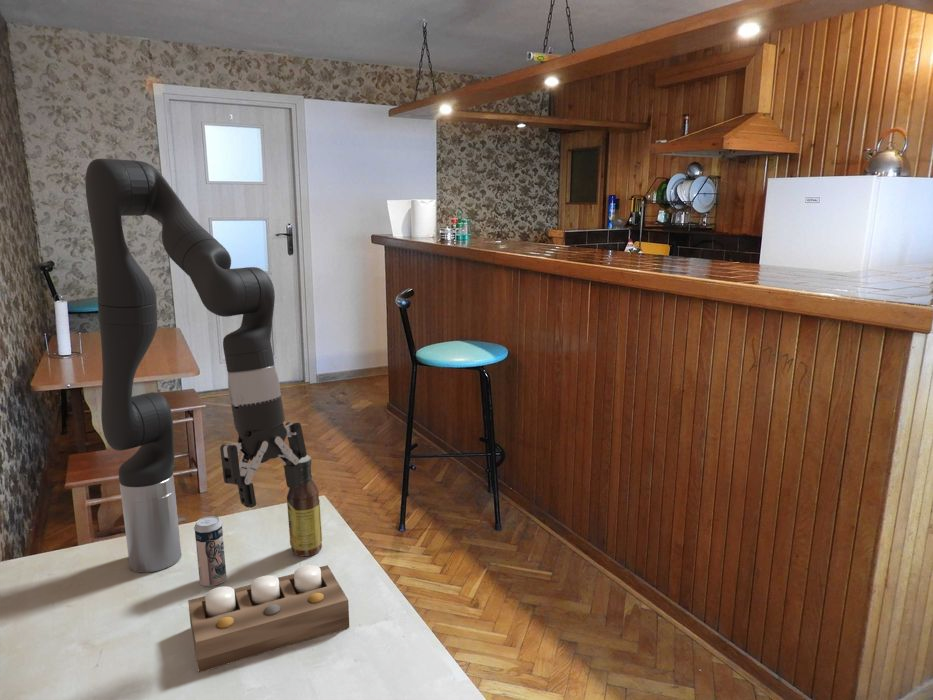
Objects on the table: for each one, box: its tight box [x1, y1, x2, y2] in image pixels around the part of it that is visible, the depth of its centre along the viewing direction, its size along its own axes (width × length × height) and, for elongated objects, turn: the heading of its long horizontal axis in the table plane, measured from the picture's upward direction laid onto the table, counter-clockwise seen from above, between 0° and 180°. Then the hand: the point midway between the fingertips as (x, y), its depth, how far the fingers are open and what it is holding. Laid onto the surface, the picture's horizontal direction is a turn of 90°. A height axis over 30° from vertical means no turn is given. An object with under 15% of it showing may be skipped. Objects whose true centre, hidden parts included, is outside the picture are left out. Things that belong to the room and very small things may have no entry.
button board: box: [187, 564, 350, 673], centre depth 106 cm, size 12×23×5 cm, turn 118°
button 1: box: [204, 586, 236, 618], centre depth 104 cm, size 4×4×3 cm
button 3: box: [293, 564, 322, 594], centre depth 111 cm, size 4×4×3 cm
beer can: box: [193, 515, 228, 588], centre depth 119 cm, size 5×5×12 cm
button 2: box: [250, 575, 280, 605], centre depth 108 cm, size 4×4×3 cm
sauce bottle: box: [286, 454, 323, 557], centre depth 129 cm, size 7×6×20 cm
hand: (272, 496), depth 104 cm, fingers open, 8 cm apart
